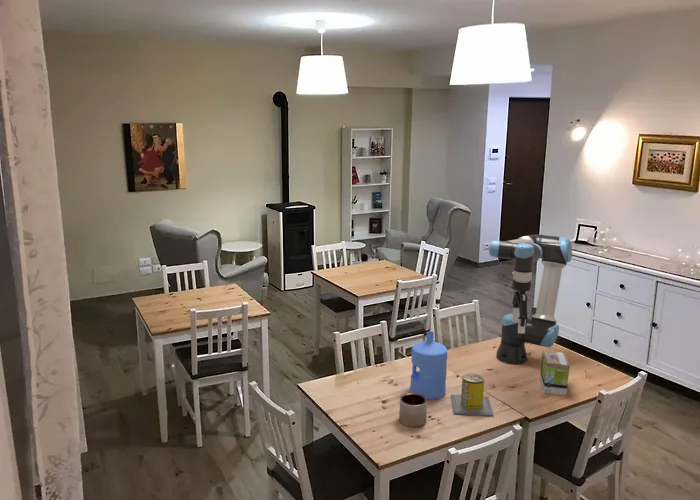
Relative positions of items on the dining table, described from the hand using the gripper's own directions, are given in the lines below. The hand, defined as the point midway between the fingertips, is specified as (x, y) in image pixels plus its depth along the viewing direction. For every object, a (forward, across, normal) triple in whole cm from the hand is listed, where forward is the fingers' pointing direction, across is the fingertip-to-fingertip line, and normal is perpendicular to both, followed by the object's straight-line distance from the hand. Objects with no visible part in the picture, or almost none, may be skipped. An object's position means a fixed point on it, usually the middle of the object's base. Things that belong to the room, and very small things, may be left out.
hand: (518, 327), depth 251 cm
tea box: (+31, -7, +19) cm, 37 cm away
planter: (+31, +30, -45) cm, 62 cm away
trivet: (+31, +15, -20) cm, 39 cm away
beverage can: (+30, +15, -20) cm, 39 cm away
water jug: (+31, +4, -38) cm, 49 cm away
